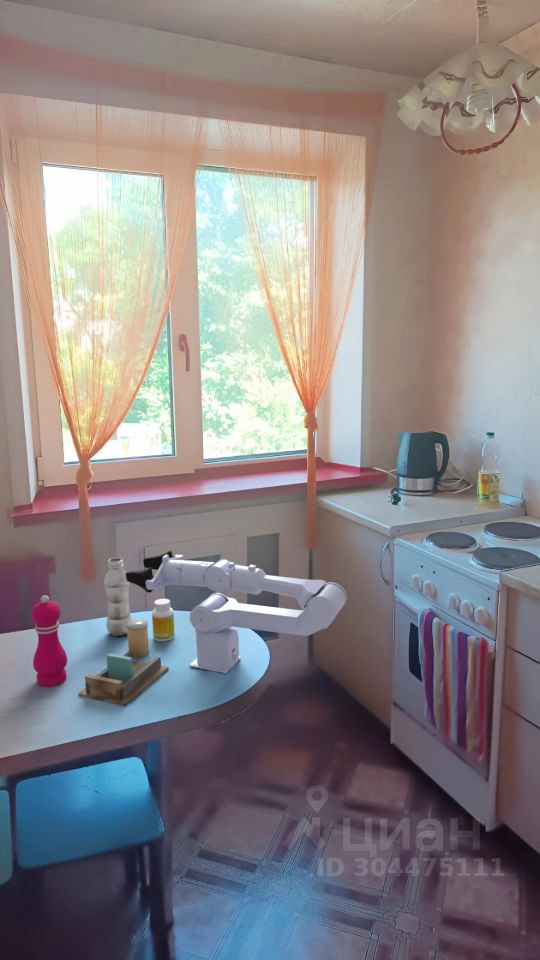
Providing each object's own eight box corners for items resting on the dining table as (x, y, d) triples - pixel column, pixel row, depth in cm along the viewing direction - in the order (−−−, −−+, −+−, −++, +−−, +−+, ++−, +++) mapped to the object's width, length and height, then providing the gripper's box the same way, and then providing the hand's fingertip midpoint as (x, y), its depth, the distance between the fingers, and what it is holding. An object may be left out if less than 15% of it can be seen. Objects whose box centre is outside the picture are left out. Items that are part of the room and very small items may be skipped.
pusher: (133, 683, 141) (132, 657, 140) (131, 685, 140) (129, 659, 139) (111, 678, 144) (109, 653, 142) (108, 680, 143) (106, 655, 141)
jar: (153, 650, 158) (151, 619, 157) (141, 659, 154) (140, 628, 152) (135, 647, 160) (134, 617, 159) (124, 656, 156) (122, 625, 154)
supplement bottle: (172, 641, 163) (171, 605, 161) (151, 642, 163) (149, 605, 161) (176, 632, 168) (174, 597, 167) (155, 632, 169) (153, 597, 167)
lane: (168, 669, 149) (167, 651, 148) (125, 706, 134) (124, 686, 133) (124, 660, 153) (123, 643, 153) (78, 695, 138) (76, 676, 137)
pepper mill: (75, 675, 147) (68, 591, 143) (55, 690, 140) (47, 603, 136) (48, 670, 149) (41, 588, 146) (27, 685, 143) (19, 599, 139)
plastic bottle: (123, 626, 173) (119, 554, 169) (137, 633, 168) (133, 559, 164) (102, 633, 169) (97, 560, 165) (116, 641, 164) (111, 565, 160)
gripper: (197, 544, 155) (148, 542, 160) (167, 570, 142) (115, 567, 148) (201, 571, 157) (153, 568, 162) (172, 599, 144) (121, 595, 150)
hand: (135, 569), depth 155 cm, fingers open, 7 cm apart
